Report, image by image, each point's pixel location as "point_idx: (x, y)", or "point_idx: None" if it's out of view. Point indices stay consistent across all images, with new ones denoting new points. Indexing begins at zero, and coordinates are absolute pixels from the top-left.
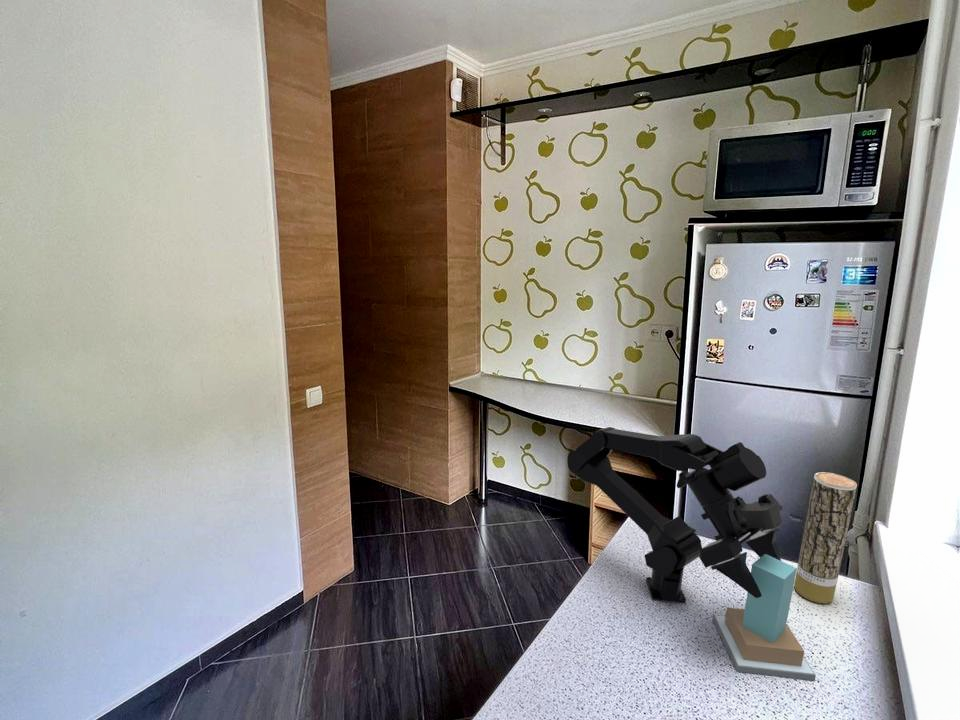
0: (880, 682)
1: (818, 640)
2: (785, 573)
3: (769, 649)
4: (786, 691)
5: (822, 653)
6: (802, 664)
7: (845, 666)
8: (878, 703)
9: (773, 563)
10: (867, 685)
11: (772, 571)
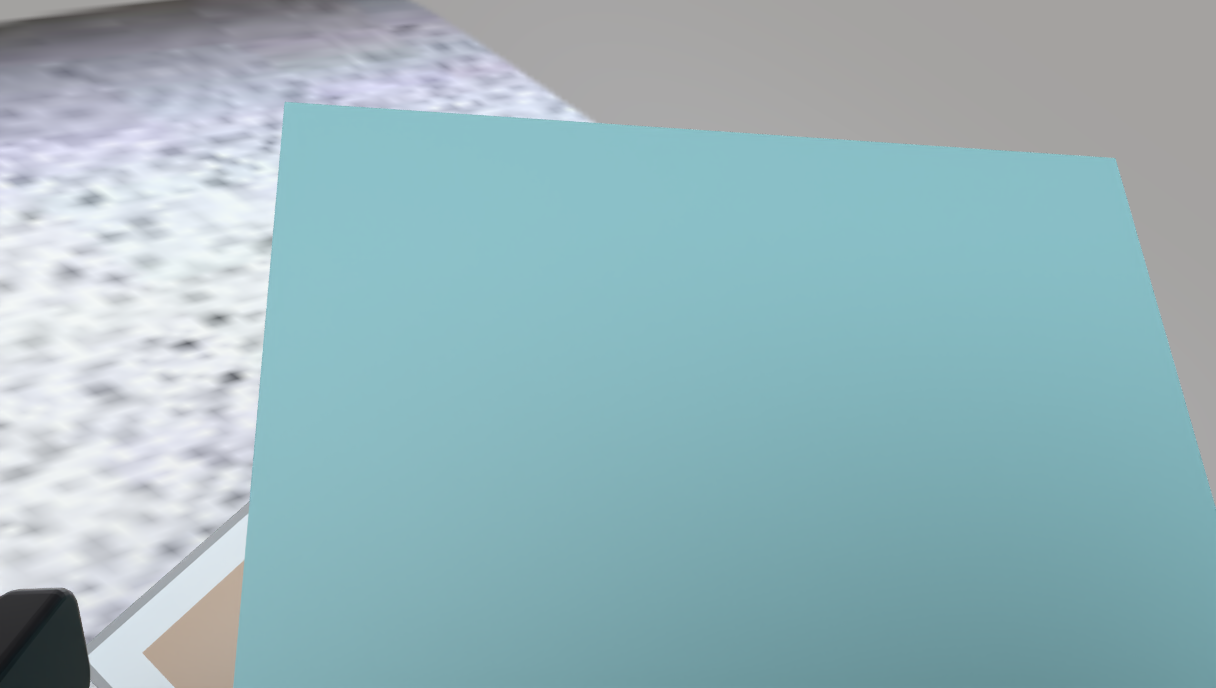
0: (185, 44)
1: (29, 395)
2: (851, 225)
3: None
4: None
5: (179, 331)
6: None
7: (198, 201)
8: (388, 30)
9: (660, 683)
10: (280, 87)
11: (1101, 485)
